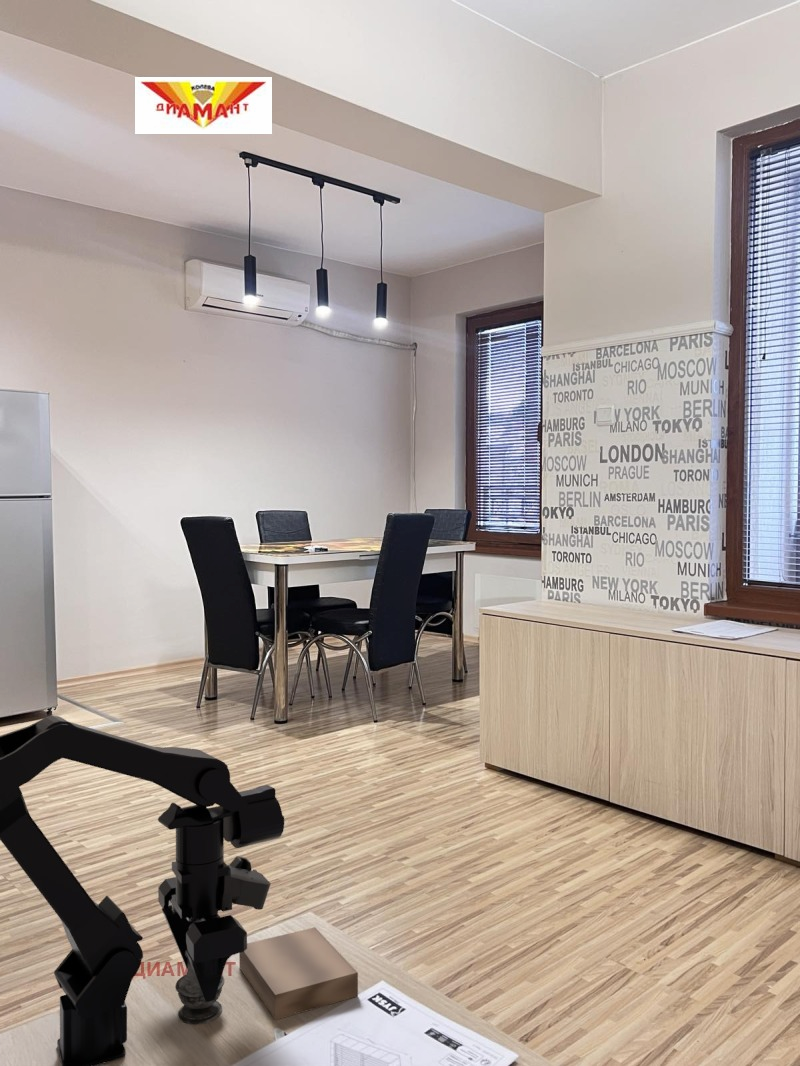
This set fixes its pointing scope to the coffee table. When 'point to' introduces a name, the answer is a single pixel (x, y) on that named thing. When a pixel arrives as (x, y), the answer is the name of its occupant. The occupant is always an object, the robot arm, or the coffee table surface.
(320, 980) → the block
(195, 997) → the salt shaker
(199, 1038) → the coffee table surface
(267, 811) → the robot arm
